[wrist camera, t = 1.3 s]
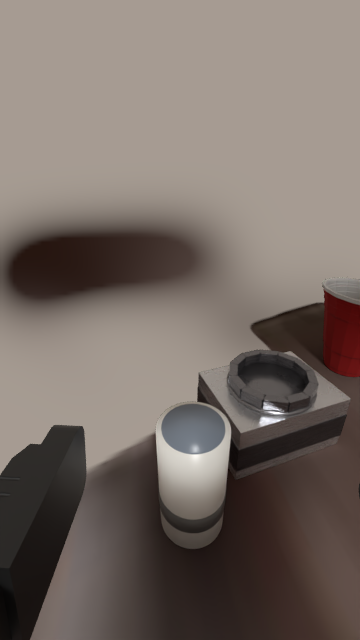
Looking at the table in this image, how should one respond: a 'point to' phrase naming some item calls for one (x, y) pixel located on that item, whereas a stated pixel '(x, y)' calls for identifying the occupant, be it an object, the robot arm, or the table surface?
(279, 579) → the table surface
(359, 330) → the plastic cup
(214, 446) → the lens barrel
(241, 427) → the banded square pedestal
